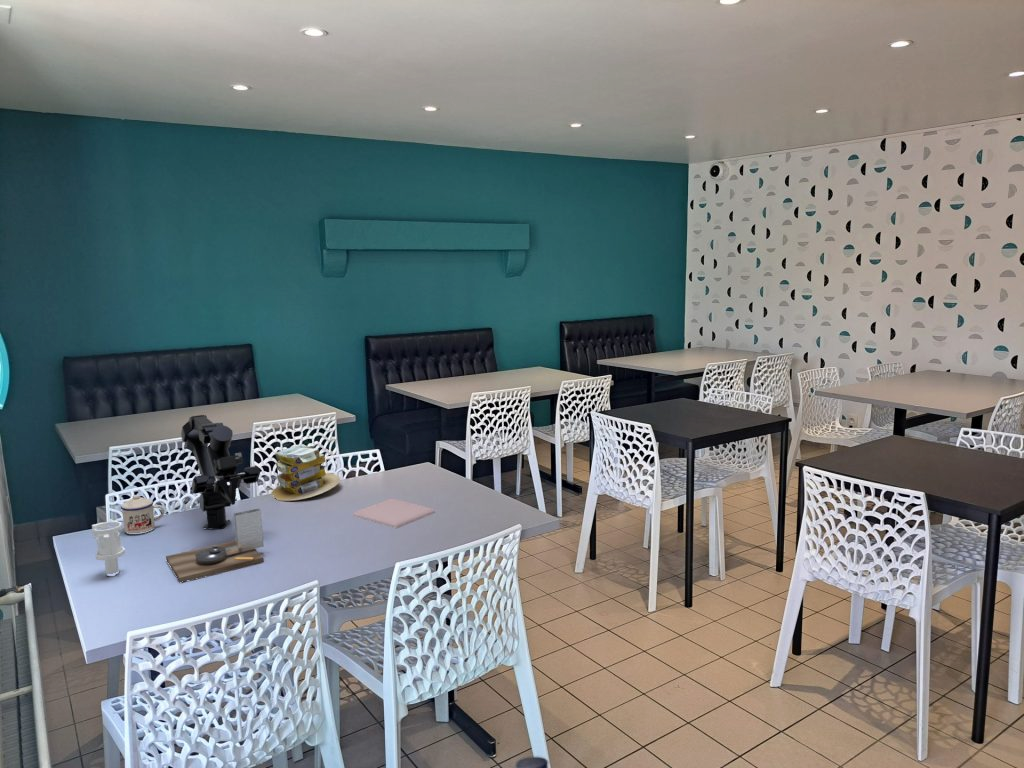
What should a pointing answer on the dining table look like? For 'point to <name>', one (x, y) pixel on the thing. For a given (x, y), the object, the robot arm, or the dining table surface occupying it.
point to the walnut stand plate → (190, 569)
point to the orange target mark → (244, 558)
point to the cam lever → (237, 538)
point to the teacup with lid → (139, 514)
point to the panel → (394, 512)
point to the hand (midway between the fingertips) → (233, 503)
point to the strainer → (108, 544)
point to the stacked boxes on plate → (302, 474)
